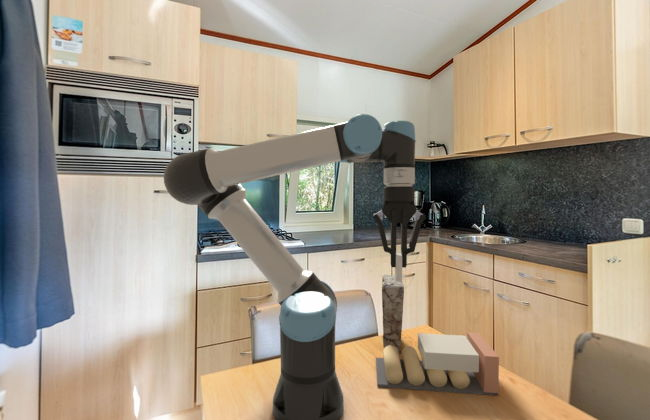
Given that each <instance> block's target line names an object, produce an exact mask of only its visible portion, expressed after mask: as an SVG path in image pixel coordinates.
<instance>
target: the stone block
mask: <svg viewBox="0 0 650 420" xmlns="http://www.w3.org/2000/svg"><path fill="white" fill-rule="evenodd" d="M404 298H405V287H404V283H403V281H402V282H398V281H396V280H395V275H390V274H384V275H382V283H381V300H382V301H381V306H382V307H381V309H382V329H383V331H382V332H383V333H382V335H383V336H382V344H383V349H384V348H385V347H386V346H388V345H393V346H395V347H396V348H397V350H398V354H399V355H400V354H402V351H401V345H402V343H401V342H402V330H403V316H404V315H403V314H404Z"/></svg>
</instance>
